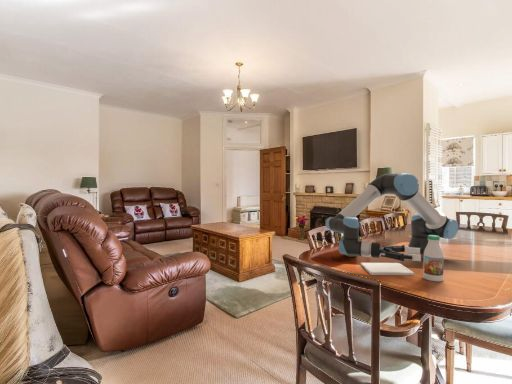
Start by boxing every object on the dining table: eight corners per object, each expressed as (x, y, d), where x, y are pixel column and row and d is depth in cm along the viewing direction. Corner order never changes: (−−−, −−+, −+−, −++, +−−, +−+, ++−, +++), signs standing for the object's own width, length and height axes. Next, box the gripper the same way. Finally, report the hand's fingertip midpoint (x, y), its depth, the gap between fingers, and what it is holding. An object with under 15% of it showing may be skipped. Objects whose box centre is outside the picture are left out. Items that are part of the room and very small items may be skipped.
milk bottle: (419, 276, 132) (419, 234, 131) (435, 275, 133) (435, 233, 132) (431, 282, 124) (431, 237, 124) (447, 281, 125) (448, 237, 124)
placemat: (399, 265, 150) (399, 262, 150) (414, 275, 134) (414, 272, 134) (360, 264, 151) (360, 262, 151) (371, 274, 135) (371, 272, 135)
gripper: (373, 251, 151) (419, 255, 141) (367, 263, 130) (421, 270, 119) (374, 237, 151) (419, 241, 141) (367, 247, 129) (421, 252, 119)
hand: (420, 254), depth 130 cm, fingers open, 13 cm apart
